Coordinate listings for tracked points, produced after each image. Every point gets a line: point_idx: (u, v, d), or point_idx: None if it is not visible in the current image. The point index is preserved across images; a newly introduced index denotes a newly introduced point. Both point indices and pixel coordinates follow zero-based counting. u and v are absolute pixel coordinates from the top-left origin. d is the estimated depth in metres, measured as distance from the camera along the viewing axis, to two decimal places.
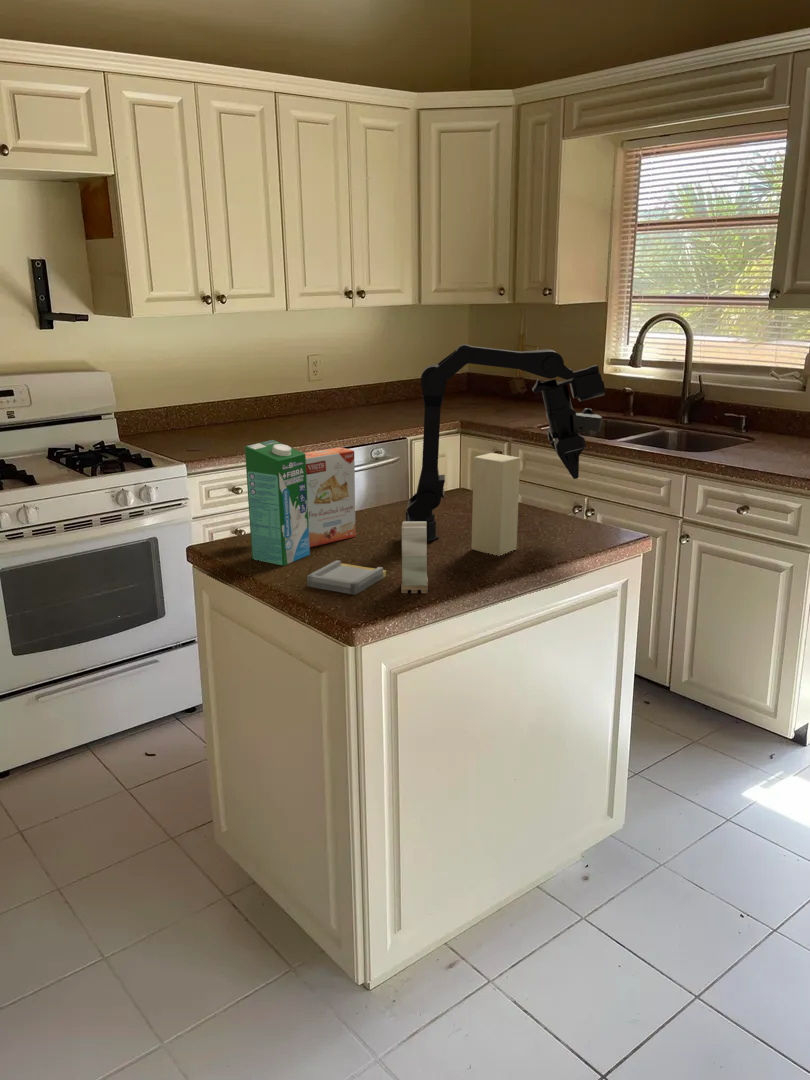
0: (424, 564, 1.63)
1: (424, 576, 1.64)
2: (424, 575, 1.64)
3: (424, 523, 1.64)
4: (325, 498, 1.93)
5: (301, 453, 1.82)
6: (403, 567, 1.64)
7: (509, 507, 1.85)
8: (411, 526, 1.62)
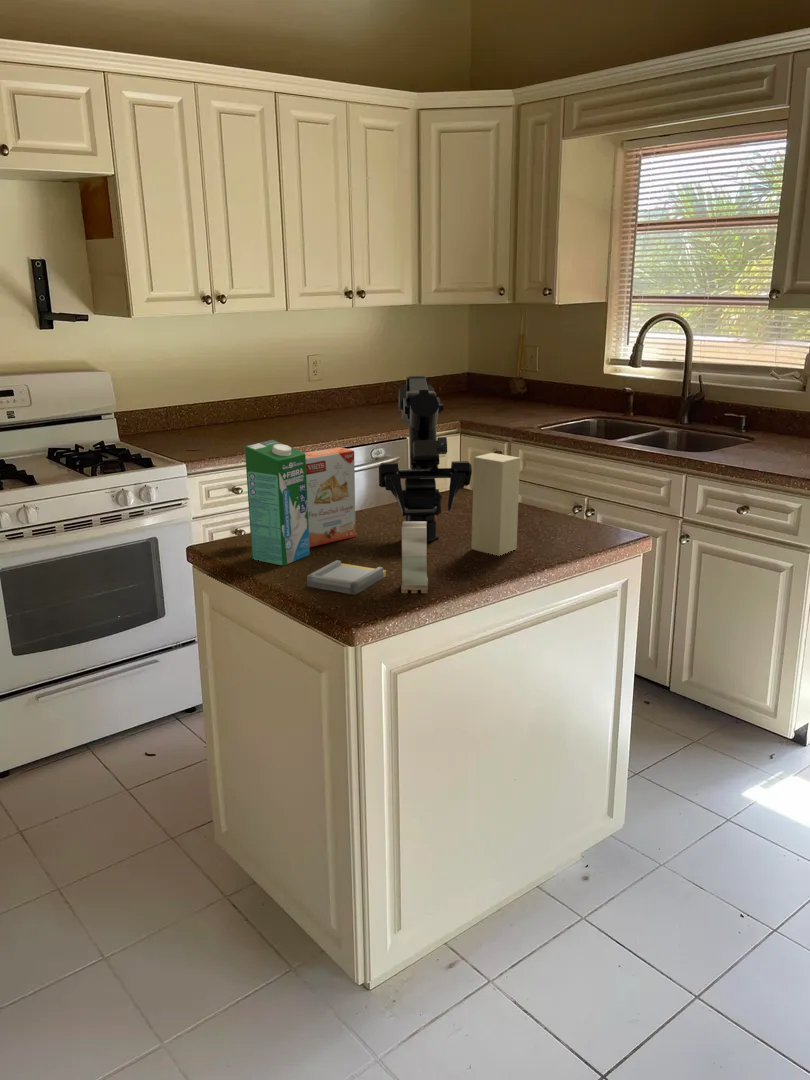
0: (424, 564, 1.63)
1: (424, 576, 1.64)
2: (424, 575, 1.64)
3: (424, 523, 1.64)
4: (325, 498, 1.93)
5: (301, 453, 1.82)
6: (403, 567, 1.64)
7: (509, 507, 1.85)
8: (411, 526, 1.62)
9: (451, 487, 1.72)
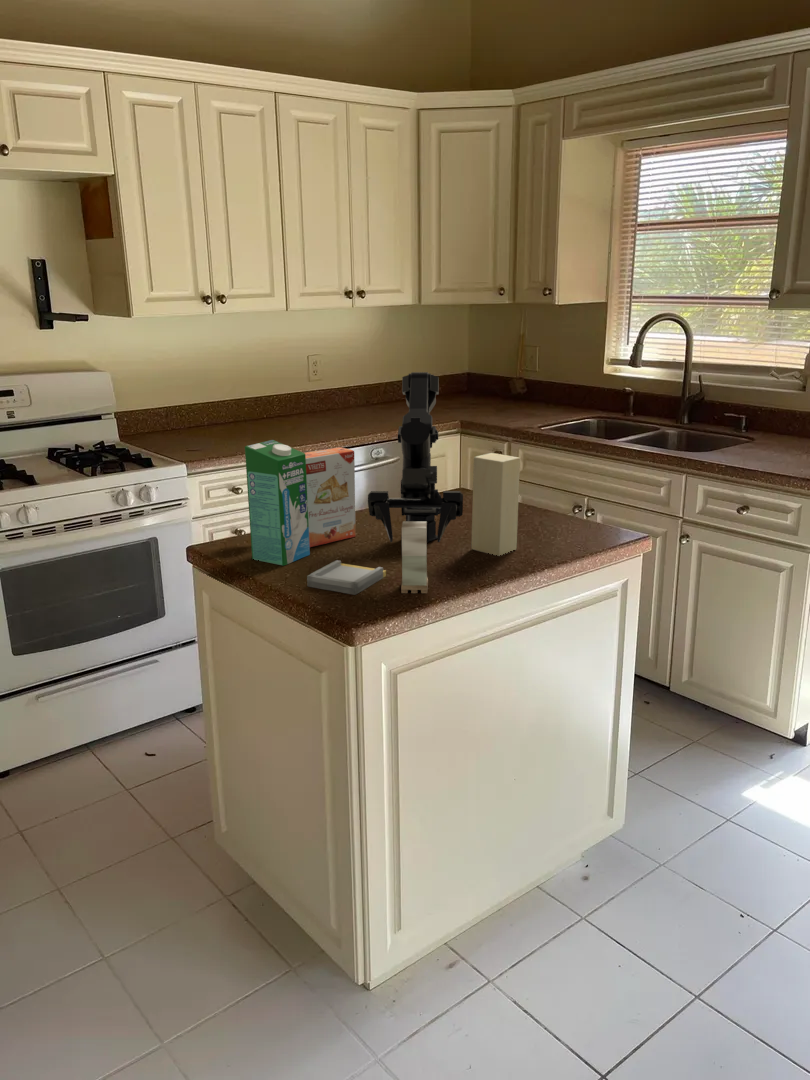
0: (424, 564, 1.63)
1: (424, 576, 1.64)
2: (424, 575, 1.64)
3: (424, 523, 1.64)
4: (325, 498, 1.93)
5: (301, 453, 1.82)
6: (403, 567, 1.64)
7: (509, 507, 1.85)
8: (411, 526, 1.62)
9: (441, 517, 1.67)
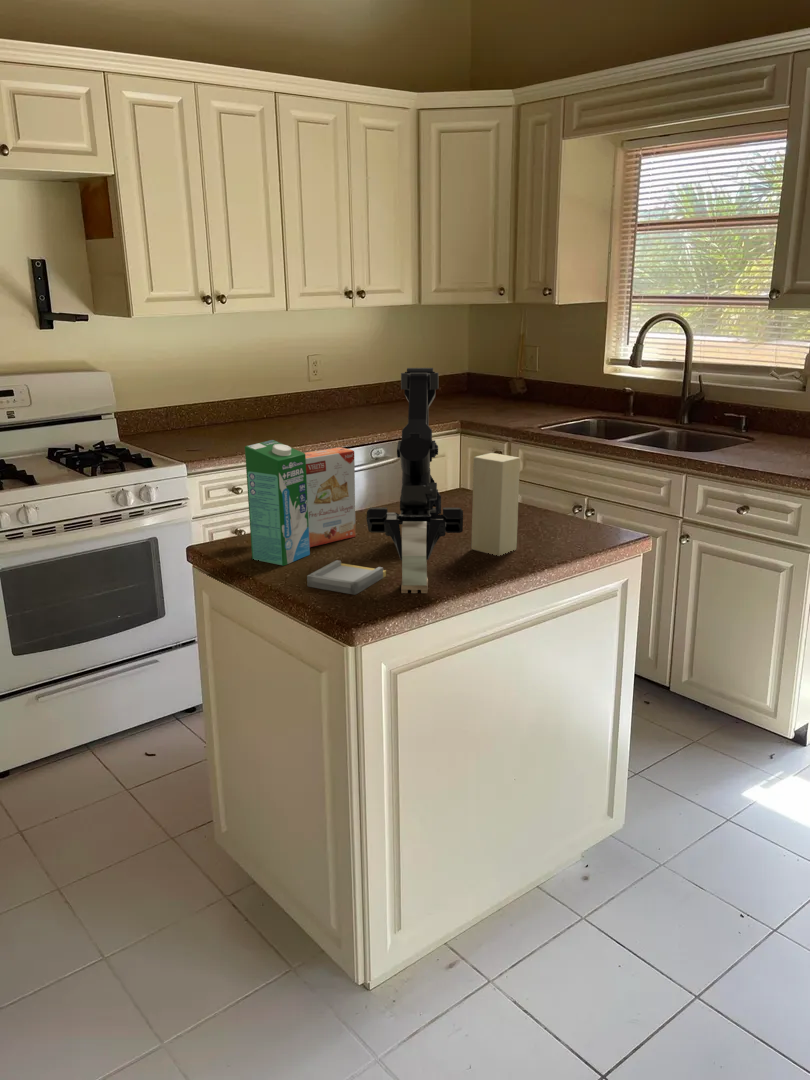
0: (424, 564, 1.63)
1: (424, 576, 1.64)
2: (424, 575, 1.64)
3: (424, 523, 1.64)
4: (325, 498, 1.93)
5: (301, 453, 1.82)
6: (403, 567, 1.64)
7: (509, 507, 1.85)
8: (411, 526, 1.62)
9: (430, 534, 1.65)
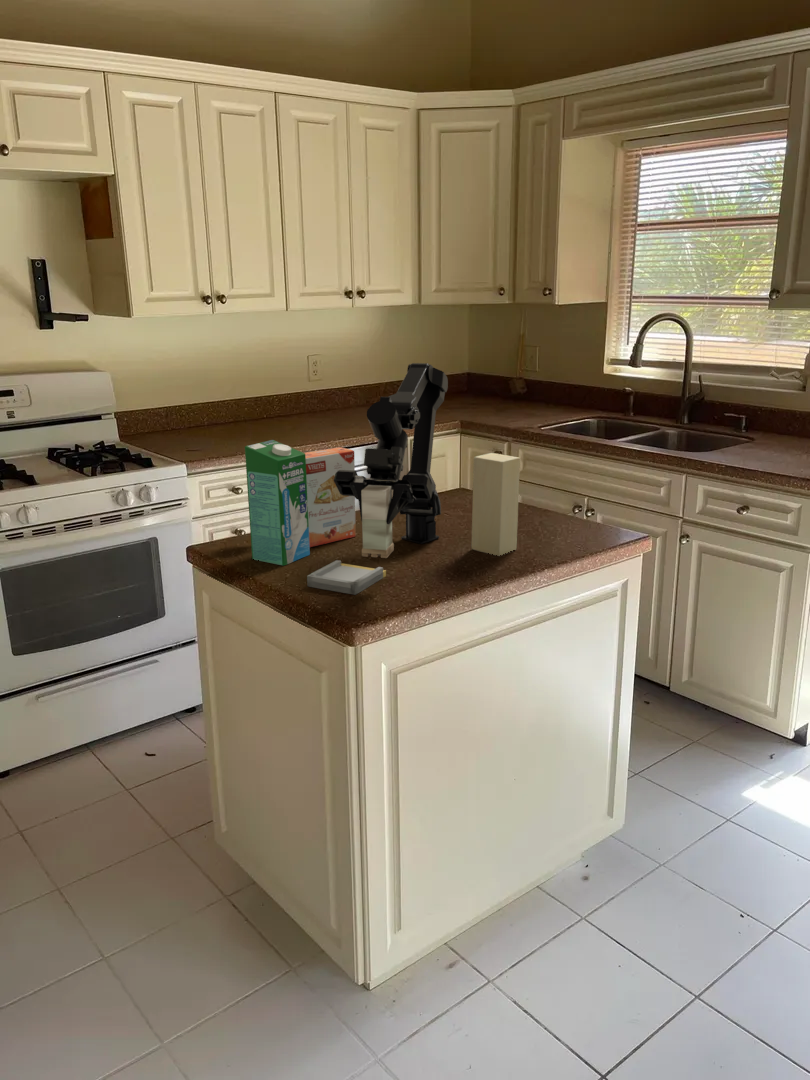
0: (383, 528, 1.63)
1: (384, 540, 1.64)
2: (384, 539, 1.63)
3: (387, 487, 1.64)
4: (325, 498, 1.93)
5: (301, 453, 1.82)
6: (363, 530, 1.64)
7: (509, 507, 1.85)
8: (372, 489, 1.62)
9: (393, 499, 1.64)
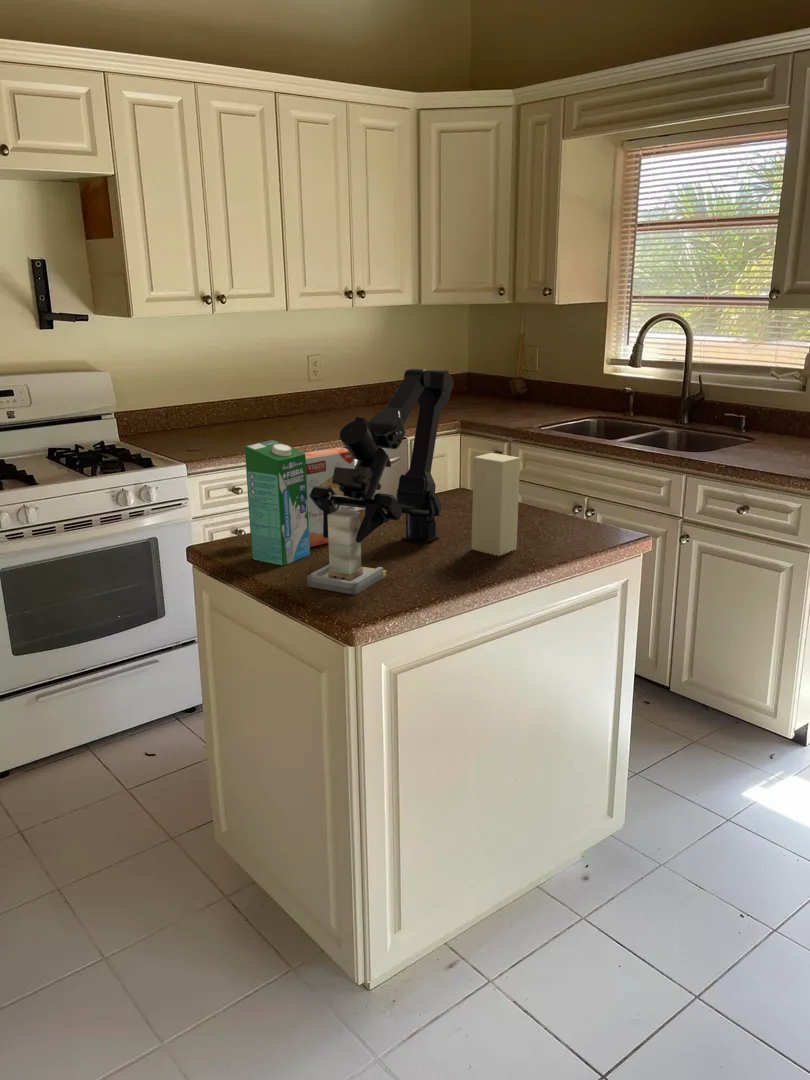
0: (347, 553, 1.67)
1: (347, 565, 1.67)
2: (347, 564, 1.67)
3: (354, 513, 1.67)
4: None
5: (301, 453, 1.82)
6: (330, 553, 1.69)
7: (509, 507, 1.85)
8: (338, 514, 1.67)
9: (364, 518, 1.66)
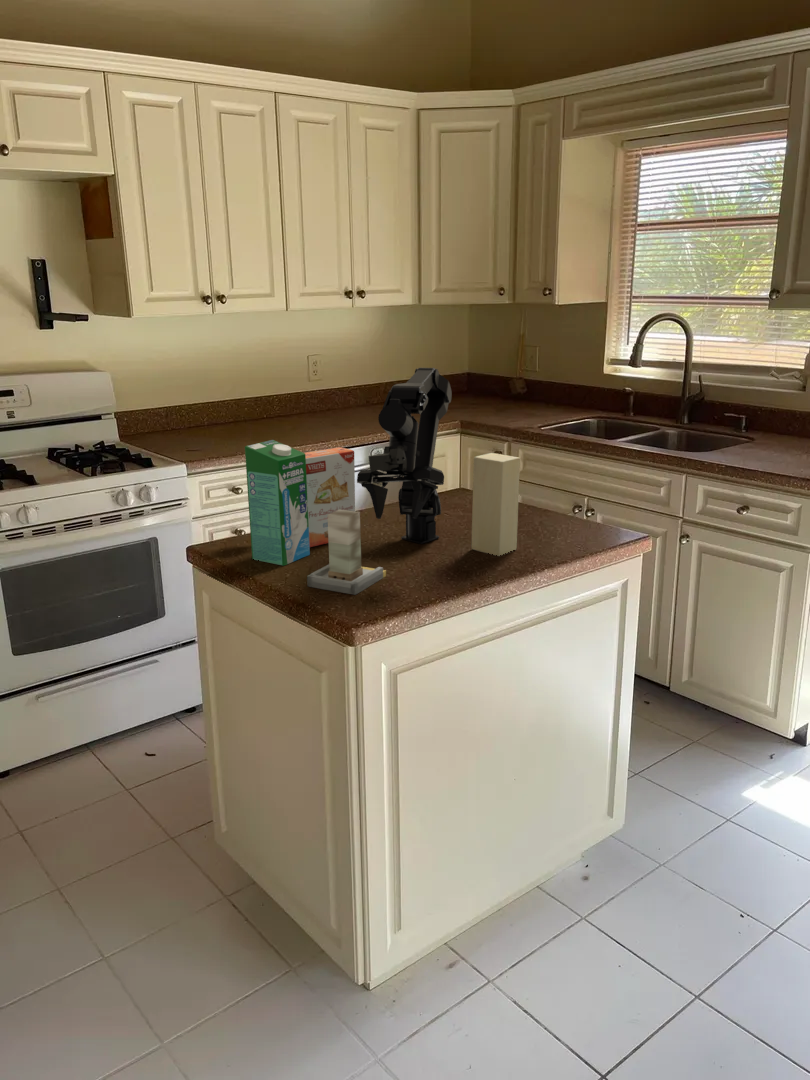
0: (347, 553, 1.67)
1: (347, 565, 1.67)
2: (347, 564, 1.67)
3: (354, 513, 1.67)
4: (325, 498, 1.93)
5: (301, 453, 1.82)
6: (330, 553, 1.69)
7: (509, 507, 1.85)
8: (338, 514, 1.67)
9: (414, 494, 1.73)
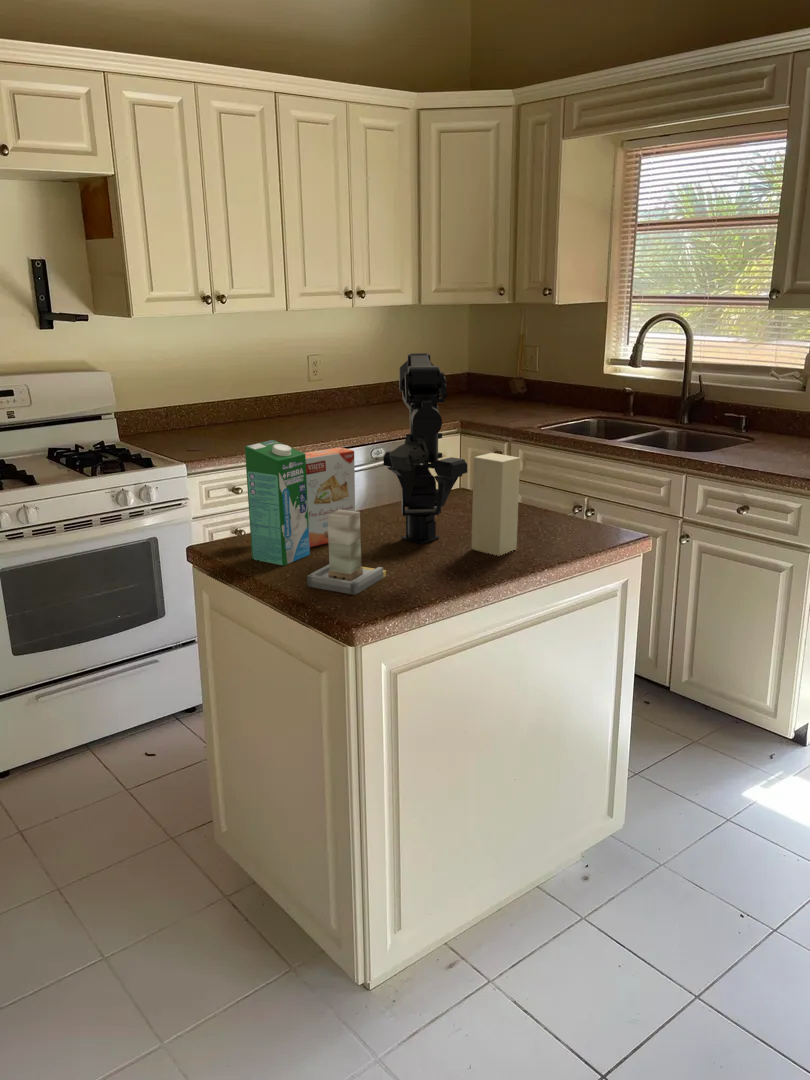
0: (347, 553, 1.67)
1: (347, 565, 1.67)
2: (347, 564, 1.67)
3: (354, 513, 1.67)
4: (325, 498, 1.93)
5: (301, 453, 1.82)
6: (330, 553, 1.69)
7: (509, 507, 1.85)
8: (338, 514, 1.67)
9: (439, 486, 1.74)
